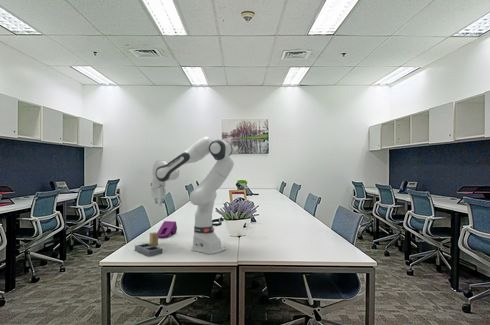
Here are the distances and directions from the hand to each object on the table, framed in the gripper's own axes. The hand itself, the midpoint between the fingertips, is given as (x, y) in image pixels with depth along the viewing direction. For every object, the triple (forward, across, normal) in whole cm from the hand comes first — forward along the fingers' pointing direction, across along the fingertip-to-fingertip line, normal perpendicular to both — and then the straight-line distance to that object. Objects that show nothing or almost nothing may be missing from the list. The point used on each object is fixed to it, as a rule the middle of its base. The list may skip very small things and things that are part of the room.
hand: (158, 204), depth 208 cm
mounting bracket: (+27, +20, -13) cm, 36 cm away
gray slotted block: (+26, -16, +10) cm, 33 cm away
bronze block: (+26, -2, +3) cm, 27 cm away
